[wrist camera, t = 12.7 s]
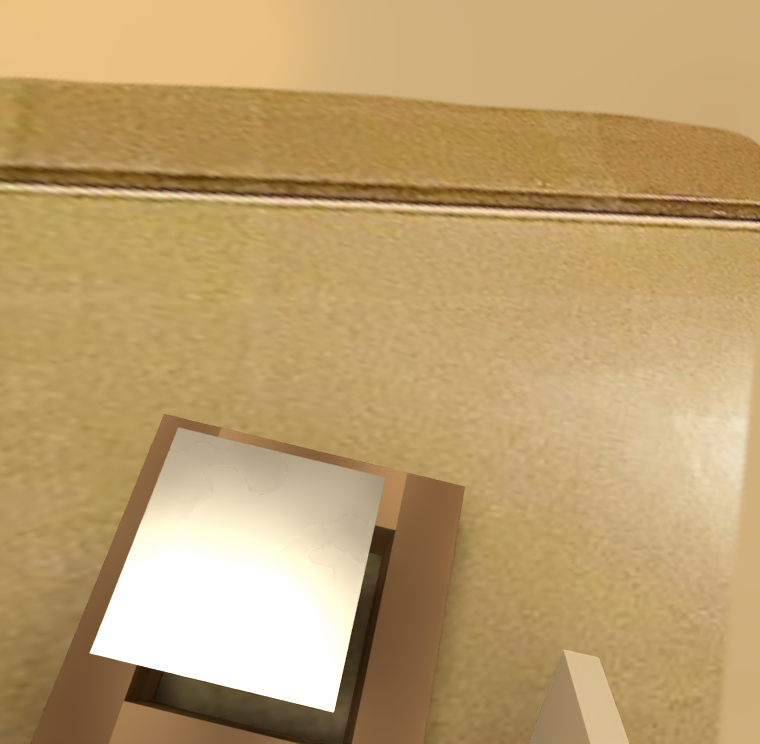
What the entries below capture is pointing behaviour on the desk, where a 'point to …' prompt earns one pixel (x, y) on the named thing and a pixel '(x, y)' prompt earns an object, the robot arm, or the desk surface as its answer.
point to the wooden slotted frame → (381, 646)
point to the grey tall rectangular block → (245, 571)
